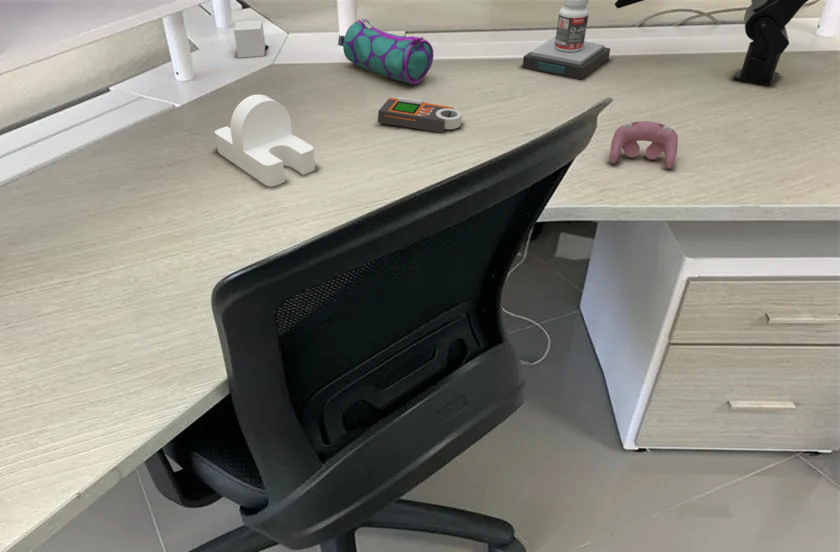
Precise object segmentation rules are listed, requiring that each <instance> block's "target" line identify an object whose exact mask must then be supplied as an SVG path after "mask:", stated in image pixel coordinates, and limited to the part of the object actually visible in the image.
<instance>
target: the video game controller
mask: <svg viewBox="0 0 840 552" xmlns="http://www.w3.org/2000/svg"><path fill="white" fill-rule="evenodd" d="M637 141H639V142H640V141H641V142H642V141H643V142H651V144H649V145H648V146H647V148H646V149H645V157H646V158H647V159H648V160H652V161H653V160H657V158H659V157H660V155H661V154H662V153H664V156H665V157H664V158H665V167H666V169H667V170H671V169H673V166H674V165H675V161H676V158H677V154H678V144H679V143H678V142H679V138H678V134H677V132H676V131H675V130H674V129H673V128H672V127H671V126H669V125H666V124H663V123H660V122H656V121H649V120H647V121H646V120H644V121H643V120H642V121H639V120H638V121H633V122H626V123H624V124H622V125H620V126H619V127H617V129H616V130H615V132H614V133H613V136H612V139H611V144H610V149H609V150H610V151H609V161H610V163H611V164H612V165H614V164H616V162H617V161H618V160H619V158H620V154H621V150H622V149H623V152H624V154H625V156H626V157H628V158H635V157H637V156H638V155H639V153H640V152H641V148H640V145H639V143H638V142H637Z"/></svg>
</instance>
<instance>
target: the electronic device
mask: <svg viewBox="0 0 840 552" xmlns="http://www.w3.org/2000/svg"><path fill="white" fill-rule="evenodd" d="M462 118H463V113H462V111H460V110H458V109H455V108H454V106H449V105H441V104H436V103H435V104H434V103H427V102H424V100H422V99H417V98H411V97H404V96H399V98H397V97H389V98H388V99H387V100H386V101H385V102H384V103H383V104H382V105H381V107H380V109H379V110H377V123H382V124H386V125H393V126H399V127H405V128H411V129H418V130H424V131H429V132H435V133H444V132H445V130H454V129H458V128H460V127H461V125H462Z"/></svg>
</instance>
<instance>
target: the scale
mask: <svg viewBox="0 0 840 552" xmlns="http://www.w3.org/2000/svg"><path fill="white" fill-rule="evenodd" d="M555 39H556V35H554V36H552V38H550V39H548V40H547V41H545V42H544V43H542V44H541V45H539V46H537V47H536V48H534V49H532V50H531V51H530V52H528V53H527V54H524V55H523V58H522V66H521V67H522V68H523V69H526V70H531V71H532V70H533V71H537V72H542V73H547V74H552V75H557V76H561V77H567V78H570V79H576V80H580V81H581V80H583V79H584V78H585V77H587V76H588V75H590V74H591V73H593V71H595V70H596V69H598V68H600V67H601V66H602V65H603V64H605V63H606V62H607V61H608V60H609V58H610V53H611V47H606V46H605V44H603V43H596V42H592V41H591V42H590V41H585V40H584V45H583V48H582V49H581V50H579V51H576V52H563V51H559V50H557V49H556V48H555Z"/></svg>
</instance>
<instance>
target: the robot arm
mask: <svg viewBox="0 0 840 552" xmlns="http://www.w3.org/2000/svg"><path fill="white" fill-rule="evenodd" d="M640 2H645V0H616V1H615V3H614V6H615V8H616V9H622V8H624V7H625V8H626V7H627V6H631V5H634V4H636V3H640ZM750 2H751V4H750V5H749V6H748V7H747V9H746V10H745V12H744V15H743V24H744V31H745V32H744V33H745V34H746V37H747V38H749V39H750V40H751V42H749V44H748V48H747V50H746V53H745V56H744V60H743V63H742V66H741V69H740V70H739V71H738V72H736V74H735V75H734V76H733V80H734V81H739V82H743V83H750V84H755V85H762V86H767V87H769V86H771V85H772V84H773V83H774V81H775V80H776V79H777V78H778V77H779V75H780V73H779V72H776V70H777V68H778V64H779V62H780V58H781V56H782V54H783V53H784V52H785V50H786V49H787V48H788V46H789V44H790V40H789V36H788V31H787V27H786V26H787V25H788V24H789V23H790V21H792V20H793V18H794V17H795V15H796V14H797V13H798V12H799V10H800V9H801V8H802V7H803V6H804V5H805V4H806V3H808V2H809V0H750Z"/></svg>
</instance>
